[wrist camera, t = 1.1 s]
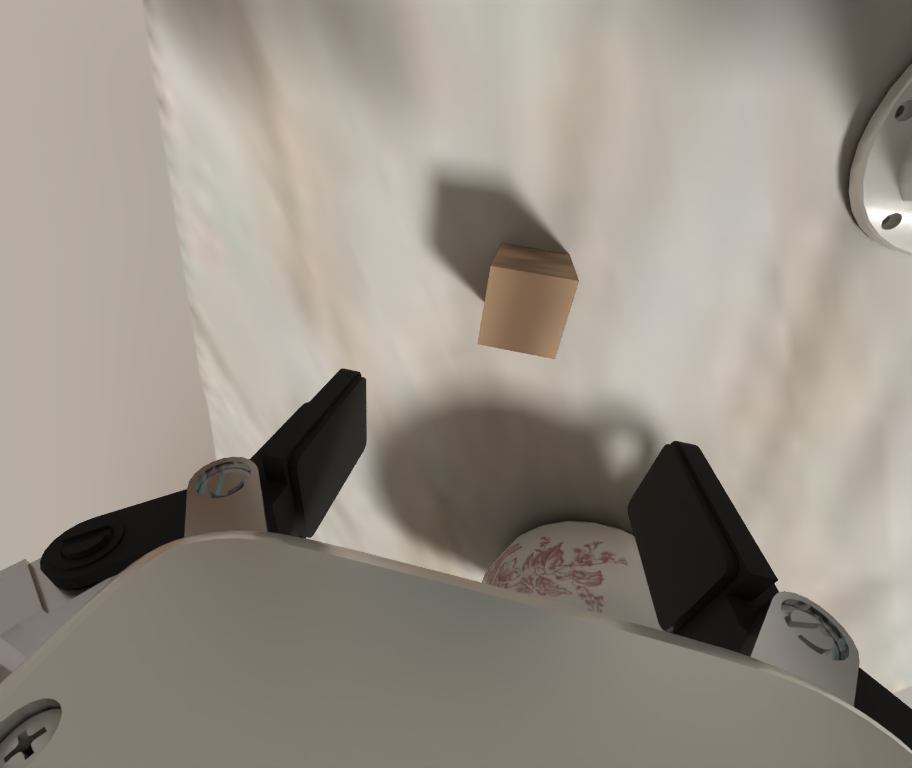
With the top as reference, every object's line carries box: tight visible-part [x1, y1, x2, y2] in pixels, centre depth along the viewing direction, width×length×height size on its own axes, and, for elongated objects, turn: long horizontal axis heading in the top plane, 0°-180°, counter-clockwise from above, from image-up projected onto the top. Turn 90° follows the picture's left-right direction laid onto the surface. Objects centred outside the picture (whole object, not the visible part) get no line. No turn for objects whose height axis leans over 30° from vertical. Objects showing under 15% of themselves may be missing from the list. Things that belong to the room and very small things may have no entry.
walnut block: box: [478, 243, 579, 359], centre depth 24 cm, size 5×5×7 cm
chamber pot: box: [482, 521, 666, 632], centre depth 34 cm, size 28×28×21 cm
